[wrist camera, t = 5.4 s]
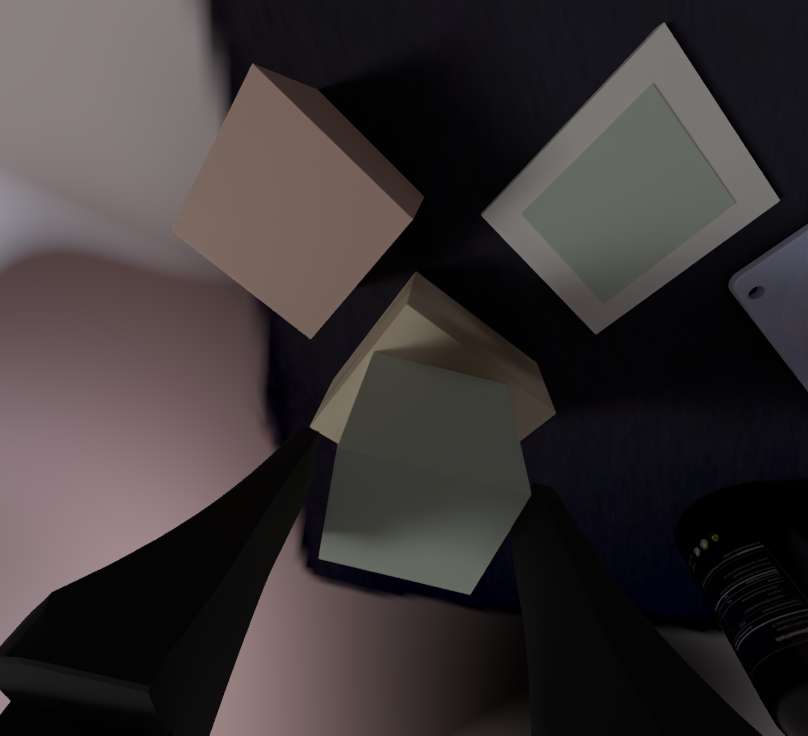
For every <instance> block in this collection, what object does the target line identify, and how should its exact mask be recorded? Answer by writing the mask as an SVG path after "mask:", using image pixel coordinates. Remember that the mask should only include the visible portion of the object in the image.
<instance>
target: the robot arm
mask: <svg viewBox="0 0 808 736" xmlns="http://www.w3.org/2000/svg"><path fill="white" fill-rule="evenodd" d="M728 287H729V289H730V291H731V293H732V294H733V295H734V296H735V298H736V299H737V300H738V302H739V303H740V304H741V306H742V307H743V308H744V309H745V311H746V312H747V313H748V315H749V316H750V317H751V319H752V320H753V321H754V322H755V324H756V325H757V326H758V328H759V329H760V330H761V332H762V333H763V334H764V335H765V337H766V338H767V339H768V341H769V342H770V343H771V345H772V346H773V347H774V348H775V350H776V351H777V352H778V354H779V355H780V356H781V358H782V359H783V360H784V361H785V363H786V364H787V365H788V367H789V368H790V369H791V371H792V372H793V373H794V374H795V376H796V377H797V378H798V380H799V381H800V382H801V384H802V385H803V386H804V387H805V389H806V390H807V391H808V224H807V225H805V226H804V227H803V228H801V229H800V230H798V231H797V232H795V233H794V234H792V235H791V236H789V237H788V238H786V239H785V240H783V241H782V242H781V243H779V244H778V245H776V246H775V247H773V248H772V249H770V250H769V251H767V252H766V253H764V254H763V255H761V256H760V257H759V258H757V259H756V260H754V261H753V262H751V263H750V264H748V265H747V266H745V267H744V268H742V269H741V270H739V271H738V272H737V273H736V274H734V275H733V276H732V278H731V279H730V281H729V285H728ZM755 287H758V288H757V290H756V292H754V293H753V294H752V295H749V296H748V294H749V292H750V291H751V290H752V289H753V288H755ZM318 439H319V431H316V430H312V429H308V428H303V427H300V428H298V429H297V430H296V431H295V432H294V433H293V434H292V435H291V436H290V437H289V438H288V439H287V441H286V442H285V443H284V444H283V445H282V446H280V447H279V448H278V449H277V450H276V451H275V452H274V453H273V454H272V455H271V456H270V457H269V458H268V459H267V460H265V461H264V462H263V463H262V464H261V465H260V466H259V467H258V468H256V469H255V470H254V471H253V472H252V473H251V474H250V475H248V476H247V477H246V478H245V479H243V480H242V481H241V482H240V483H238V484H237V485H236V486H235V487H233V488H232V489H231V490H230V491H228V492H227V493H226V494H225V495H223V496H222V497H220V498H219V499H218V500H216V501H215V502H213V503H212V504H211V505H209V506H208V507H206V508H205V509H204V510H202V511H201V512H199V513H198V514H196V515H195V516H193V517H192V518H190V519H189V520H187V521H185V522H184V523H182V524H180V525H179V526H177V527H176V528H174V529H173V530H171V531H169V532H168V533H166V534H164V535H163V536H161V537H159V538H158V539H156V540H154V541H152V542H150V543H149V544H147V545H145V546H143V547H141V548H140V549H138V550H136V551H134V552H133V553H131V554H129V555H127V556H125V557H123V558H121V559H119V560H118V561H116V562H114V563H112V564H110V565H108V566H106V567H104V568H102V569H100V570H97V571H95V572H93V573H91V574H89V575H87V576H85V577H83V578H81V579H79V580H77V581H75V582H72V583H70V584H68V585H67V586H64V587H62V588H60V589H58V590H55V591H54V592H52V593H51V594H50V595H49V596H48V597H47V598H46V599H45V600H44V601H43V602H42V603H41V604H39V605H38V606H37V607H36V608H35V609H34V610H33V611H32V612H31V613H30V614H29V615H28V616H27V617H26V618H25V620H23V621H22V623H21V624H20V625H19V626H18V627H17V628H16V629H15V630H14V632H13V633H12V634H11V635H10V636H9V637H8V638H7V639H6V640H5V642H4V643H3V644H2V645H1V646H0V690H1V691H2V692H3V693H4V694H5V695H6V696H7V697H8V698H9V700H10V701H11V702H10V703H9V704H8V706H7V707H6V708H5V709H4V711H3V712H2V713H1V715H0V736H209V735H210V732H211V730H212V727H213V724H214V721H215V718H216V715H217V712H218V710H219V707H220V704H221V701H222V698H223V695H224V693H225V690H226V687H227V684H228V682H229V679H230V676H231V673H232V671H233V668H234V665H235V662H236V660H237V657H238V654H239V651H240V649H241V646H242V643H243V641H244V638H245V635H246V633H247V630H248V627H249V625H250V622H251V619H252V617H253V614H254V611H255V609H256V606H257V604H258V601H259V599H260V596H261V593H262V591H263V588H264V586H265V583H266V581H267V579H268V576H269V574H270V572H271V569H272V567H273V565H274V563H275V561H276V559H277V557H278V555H279V553H280V551H281V549H282V547H283V545H284V543H285V541H286V539H287V537H288V535H289V533H290V530H291V528H292V526H293V524H294V522H295V520H296V518H297V516H298V514H299V512H300V510H301V508H302V506H303V504H304V501H305V498H306V495H307V493H308V490H309V487H310V484H311V482H312V479H313V476H314V471H315V463H316V455H317V447H318ZM530 491H531V496H530V498H529V499H528V501H527V503H526V504H525V506H524V508H523V509H522V511H521V513H520V514H519V516H518V517H517V519H516V521H515V522H514V524H513V526H512V527H511V535H512V554H513V561H514V567H515V573H516V580H517V586H518V592H519V598H520V604H521V610H522V616H523V622H524V629H525V636H526V645H527V659H528V672H529V690H530V710H531V736H762V735H761V734H760V733H759V732H758V731H757V730H755V728H754V727H752V726H751V725H750V724H749V723H748V722H747V721H746V720H744V718H742V717H741V716H740V715H739V714H738V713H737V712H736V711H735V710H734V709H733V708H732V707H731V706H730V705H729V704H728V703H726V702H725V700H723V699H722V698H721V697H720V696H719V695H718V694H717V693H716V692H715V691H714V690H713V689H712V688H711V687H710V686H709V685H708V684H707V683H706V682H705V681H704V680H703V679H702V678H701V677H700V676H699V675H698V674H697V673H696V672H695V671H694V670H693V669H692V668H691V667H690V666H689V665H688V664H687V663H686V662H685V661H684V660H683V658H682V657H681V656H680V655H679V654H678V653H677V652H676V651H675V650H674V649H673V648H672V647H671V645H669V643H668V642H667V641H666V640H665V639H664V638H663V637H662V636H661V635H660V634H659V632H658V631H657V630H656V629H655V628H654V627H653V626H652V624H651V623H650V622H649V621H648V620H647V619H646V617H645V616H644V615H643V614H642V613H641V611H640V610H639V609H638V608H637V607H636V605H635V604H634V603H633V602H632V601H631V599H630V598H629V597H628V596H627V594H626V593H625V592H624V591H623V589H622V588H621V587H620V585H619V584H618V583H617V581H616V580H615V579H614V577H613V576H612V575H611V573H610V572H609V571H608V569H607V568H606V567H605V565H604V564H603V563H602V561H601V560H600V558H599V557H598V556H597V554H596V553H595V551H594V550H593V548H592V547H591V545H590V544H589V542H588V541H587V540H586V538H585V537H584V535H583V534H582V532H581V531H580V529H579V528H578V526H577V525H576V523H575V521H574V520H573V518H572V517H571V515H570V514H569V512H568V511H567V509H566V508H565V506H564V505H563V503H562V501H561V500H560V498H559V497H558V495H557V494H556V492H555V491H554V489H553V488H552V487H549V486H545V485H541V484H536V483H534V484H533V485H532V487H531V489H530Z"/></svg>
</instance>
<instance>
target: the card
mask: <svg viewBox="0 0 808 736" xmlns="http://www.w3.org/2000/svg"><path fill="white" fill-rule="evenodd" d="M779 201H780V200H779V198H778V196H777V195H776V193H775V192H774V190H773V189H772V187H771V186H770V184H769V183H768V181H767V180H766V178H765V176H764V175H763V173H762V172H761V170H760V169H759V167H758V166H757V164H756V163H755V161H754V160H753V158H752V156H751V155H750V153H749V152H748V150H747V149H746V147H745V146H744V144H743V143H742V141H741V140H740V138H739V136H738V135H737V133H736V132H735V130H734V129H733V127H732V126H731V124H730V123H729V121H728V120H727V118H726V116H725V115H724V113H723V112H722V110H721V109H720V107H719V106H718V104H717V103H716V101H715V100H714V98H713V96H712V95H711V93H710V92H709V90H708V89H707V87H706V86H705V84H704V83H703V81H702V80H701V78H700V76H699V75H698V73H697V72H696V70H695V69H694V67H693V66H692V64H691V63H690V61H689V60H688V58H687V56H686V55H685V53H684V52H683V50H682V49H681V47H680V46H679V44H678V43H677V41H676V40H675V38H674V37H673V35H672V33H671V32H670V30H669V29H668V27H667V26H666V24H665V23H662V24H661V25H659V26H657V28H656V29H655V30H654V31H653V32H652V33H651V34H650V35H649V36H648V37H647V38H646V39H645V40H644V41H643V42H642V43H641V44H640V46H639V47H638V48H637V49H636V50H635V51H634V52H633V53H632V54H631V55H630V56H629V57H628V58H627V59H626V60H625V61H624V62H623V64H622V65H621V66H620V67H619V68H618V69H617V70H616V71H615V72H614V73H613V74H612V75H611V76H610V77H609V78H608V79H607V80H606V82H605V83H604V84H603V85H602V86H601V87H600V88H599V89H598V90H597V91H596V92H595V93H594V94H593V95H592V96H591V97H590V98H589V100H588V101H587V102H586V103H585V104H584V105H583V106H582V107H581V108H580V109H579V110H578V111H577V112H576V113H575V114H574V115H573V116H572V118H571V119H570V120H569V121H568V122H567V123H566V124H565V125H564V126H563V127H562V128H561V129H560V130H559V131H558V132H557V133H556V134H555V136H554V137H553V138H552V139H551V140H550V141H549V142H548V143H547V144H546V145H545V146H544V147H543V148H542V149H541V150H540V151H539V152H538V154H537V155H536V156H535V157H534V158H533V159H532V160H531V161H530V162H529V163H528V164H527V165H526V166H525V167H524V168H523V169H522V170H521V172H520V173H519V174H518V175H517V176H516V177H515V178H514V179H513V180H512V181H511V182H510V183H509V184H508V185H507V186H506V187H505V188H504V190H503V191H502V192H501V193H500V194H499V195H498V196H497V197H496V198H495V199H494V200H493V201H492V202H491V203H490V204H489V205H488V206H487V208H486V209H485V210H484V211H483V212H482V213H481V216H482V217H483V218H484V219H485V220H486V221H487V222H488V223H489V224H490V225H491V226H492V227H493V228H494V229H495V230H496V231H497V232H498V233H499V234H500V236H501V237H502V238H503V239H504V240H505V241H506V242H507V243H508V244H509V245H510V246H511V247H512V248H513V249H514V250H515V251H516V252H517V253H518V254H519V255H520V256H521V257H522V258H523V259H524V260H525V261H526V263H527V264H528V265H529V266H530V267H531V268H532V269H533V270H534V271H535V272H536V273H537V274H538V275H539V276H540V277H541V278H542V279H543V280H544V281H545V282H546V283H547V284H548V285H549V286H550V287H551V289H552V290H553V291H554V292H555V293H556V294H557V295H558V296H559V297H560V298H561V299H562V300H563V301H564V302H565V303H566V304H567V305H568V306H569V307H570V308H571V309H572V310H573V311H574V312H575V313H576V315H577V316H578V317H579V318H580V319H581V320H582V321H583V322H584V323H585V324H586V325H587V326H588V327H589V328H590V329H591V330H592V331H593V332H594V333H595V334H598V333H599V332H600V331H602V330H603V329H604V328H606V327H607V326H609V325H610V324H611V323H613V322H614V321H615V320H617V319H618V318H620V317H621V316H622V315H624V314H625V313H626V312H628V311H629V310H631V309H632V308H633V307H635V306H636V305H637V304H639V303H640V302H641V301H643V300H644V299H646V298H647V297H648V296H650V295H651V294H652V293H654V292H655V291H657V290H658V289H659V288H661V287H662V286H663V285H665V284H666V283H668V282H669V281H670V280H672V279H673V278H674V277H676V276H677V275H679V274H680V273H681V272H683V271H684V270H685V269H687V268H688V267H690V266H691V265H692V264H694V263H695V262H696V261H698V260H699V259H701V258H702V257H703V256H705V255H706V254H707V253H709V252H710V251H712V250H713V249H714V248H716V247H717V246H718V245H720V244H721V243H723V242H724V241H725V240H727V239H728V238H729V237H731V236H732V235H734V234H735V233H736V232H738V231H739V230H740V229H742V228H743V227H745V226H746V225H747V224H749V223H750V222H751V221H753V220H754V219H756V218H757V217H758V216H760V215H761V214H762V213H764V212H765V211H767V210H768V209H769V208H771V207H772V206H773V205H775V204H776V203H778V202H779Z"/></svg>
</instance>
